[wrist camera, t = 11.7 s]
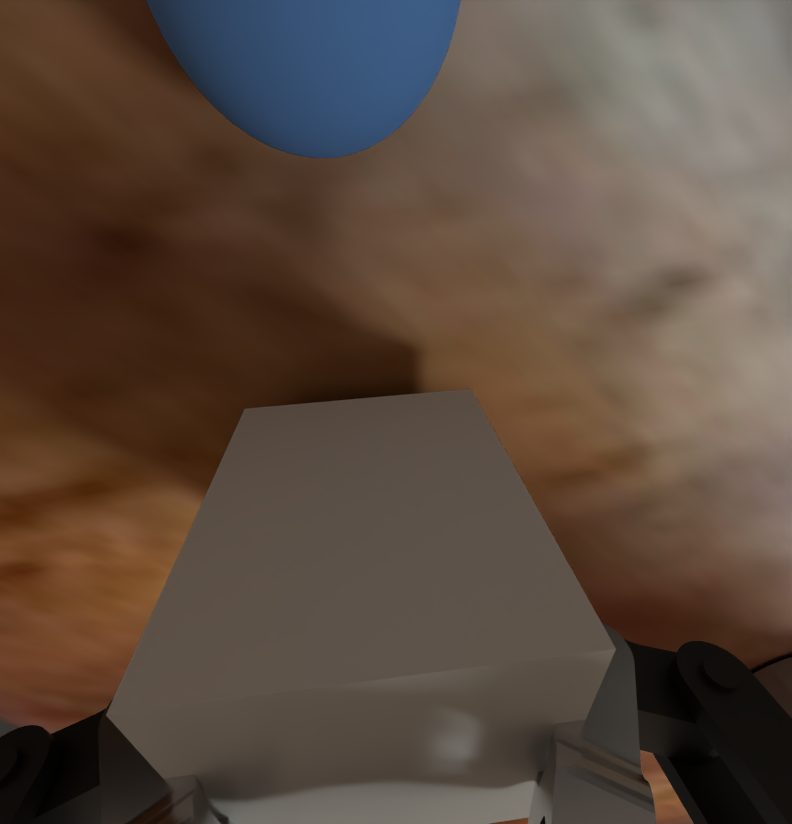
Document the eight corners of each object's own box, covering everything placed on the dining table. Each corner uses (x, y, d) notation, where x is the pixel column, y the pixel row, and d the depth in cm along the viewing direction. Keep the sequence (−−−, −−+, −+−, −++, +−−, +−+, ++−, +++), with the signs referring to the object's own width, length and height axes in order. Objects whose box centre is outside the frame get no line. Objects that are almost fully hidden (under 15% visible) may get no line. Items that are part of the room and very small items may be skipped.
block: (470, 388, 12) (616, 649, 5) (462, 541, 15) (544, 815, 9) (244, 408, 11) (105, 715, 5) (287, 561, 15) (238, 861, 8)
